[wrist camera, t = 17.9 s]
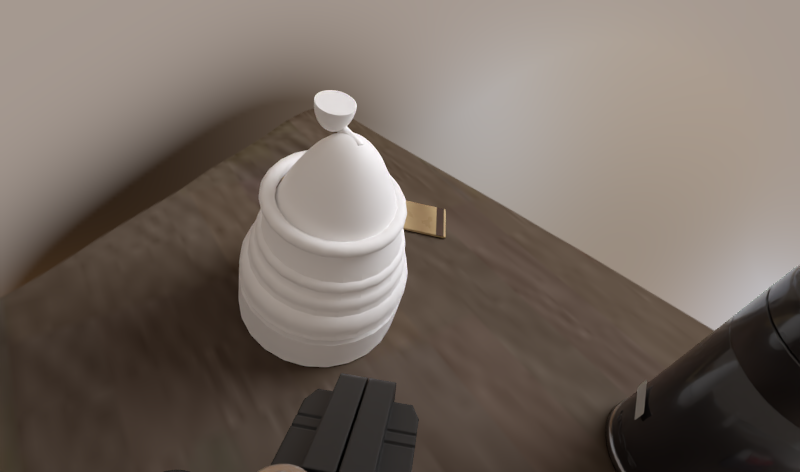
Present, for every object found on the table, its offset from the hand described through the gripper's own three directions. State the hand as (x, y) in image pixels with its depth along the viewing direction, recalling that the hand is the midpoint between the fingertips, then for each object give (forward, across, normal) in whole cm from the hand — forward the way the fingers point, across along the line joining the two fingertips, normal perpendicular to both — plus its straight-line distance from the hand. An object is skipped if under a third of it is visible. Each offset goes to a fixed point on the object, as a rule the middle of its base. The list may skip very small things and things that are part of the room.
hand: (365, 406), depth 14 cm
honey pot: (+27, +8, +10) cm, 30 cm away
